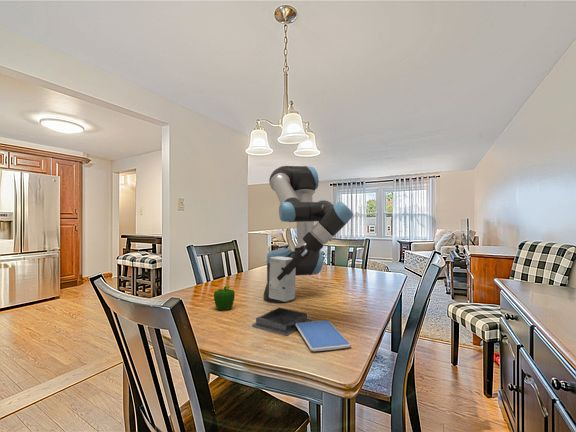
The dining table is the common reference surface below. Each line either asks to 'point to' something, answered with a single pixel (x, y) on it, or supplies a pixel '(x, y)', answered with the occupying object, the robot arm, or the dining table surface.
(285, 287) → the skincare box
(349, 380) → the dining table surface
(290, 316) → the square metal tray
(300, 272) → the robot arm
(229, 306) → the bell pepper
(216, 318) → the dining table surface
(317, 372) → the dining table surface
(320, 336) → the tablet computer
